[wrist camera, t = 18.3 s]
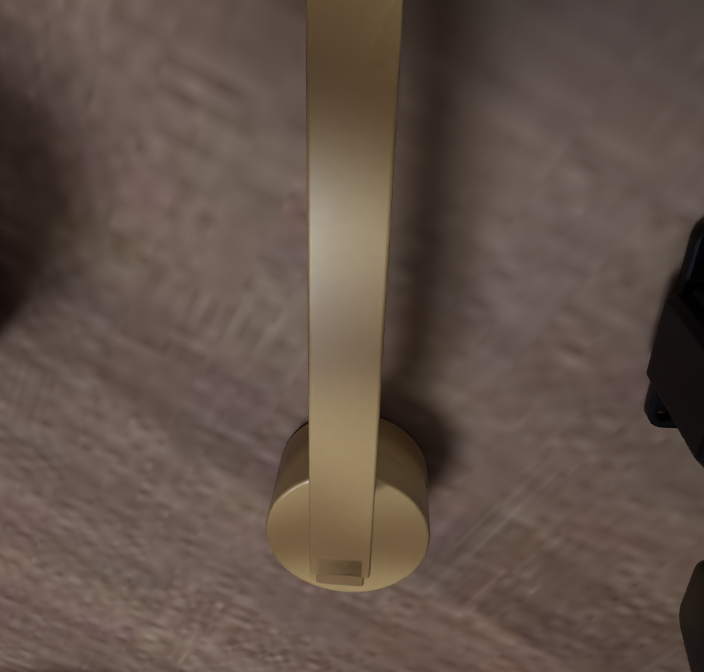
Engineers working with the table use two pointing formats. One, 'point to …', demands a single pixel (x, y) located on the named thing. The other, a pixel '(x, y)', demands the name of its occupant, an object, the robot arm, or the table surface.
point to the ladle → (349, 321)
